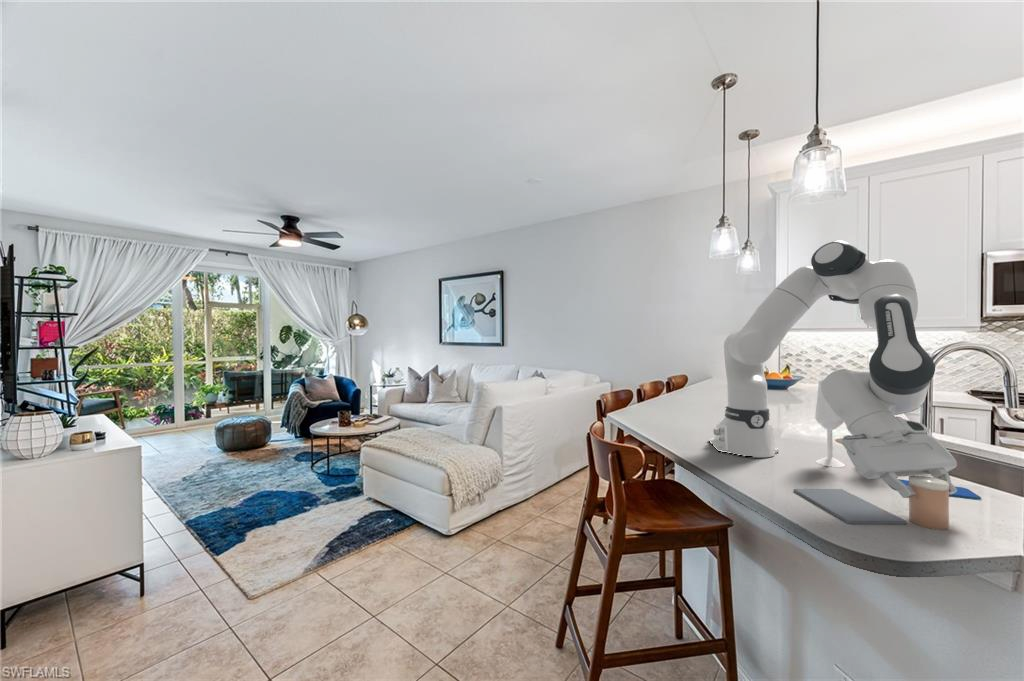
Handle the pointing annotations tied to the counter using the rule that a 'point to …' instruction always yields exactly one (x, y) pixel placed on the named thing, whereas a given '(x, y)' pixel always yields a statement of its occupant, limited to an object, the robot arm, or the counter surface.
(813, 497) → the slate mat
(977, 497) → the smartphone
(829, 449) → the champagne flute
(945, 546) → the counter surface
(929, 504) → the terracotta jar
